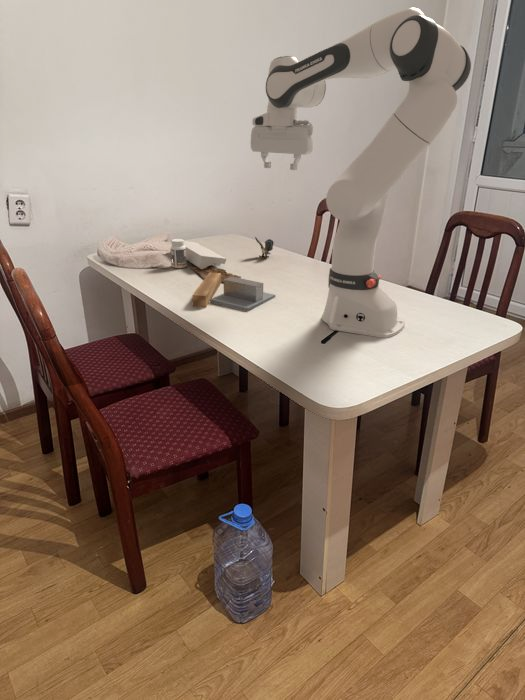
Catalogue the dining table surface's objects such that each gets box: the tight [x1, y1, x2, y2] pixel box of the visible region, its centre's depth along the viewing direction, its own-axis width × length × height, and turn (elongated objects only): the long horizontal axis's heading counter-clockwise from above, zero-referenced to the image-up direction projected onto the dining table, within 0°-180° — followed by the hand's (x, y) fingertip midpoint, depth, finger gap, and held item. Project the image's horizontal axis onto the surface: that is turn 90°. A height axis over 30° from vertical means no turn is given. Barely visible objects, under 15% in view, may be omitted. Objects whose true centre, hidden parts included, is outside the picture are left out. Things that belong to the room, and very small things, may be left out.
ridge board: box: [209, 276, 276, 312], centre depth 156 cm, size 14×15×6 cm
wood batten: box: [191, 273, 222, 309], centre depth 161 cm, size 4×24×4 cm, turn 173°
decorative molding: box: [184, 240, 227, 269], centre depth 199 cm, size 34×5×10 cm
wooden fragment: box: [191, 266, 242, 283], centre depth 180 cm, size 26×11×1 cm, turn 38°
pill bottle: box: [170, 238, 188, 269], centre depth 189 cm, size 6×6×10 cm
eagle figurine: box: [254, 237, 275, 260], centre depth 201 cm, size 8×7×9 cm
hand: (280, 169), depth 157 cm, fingers open, 8 cm apart
